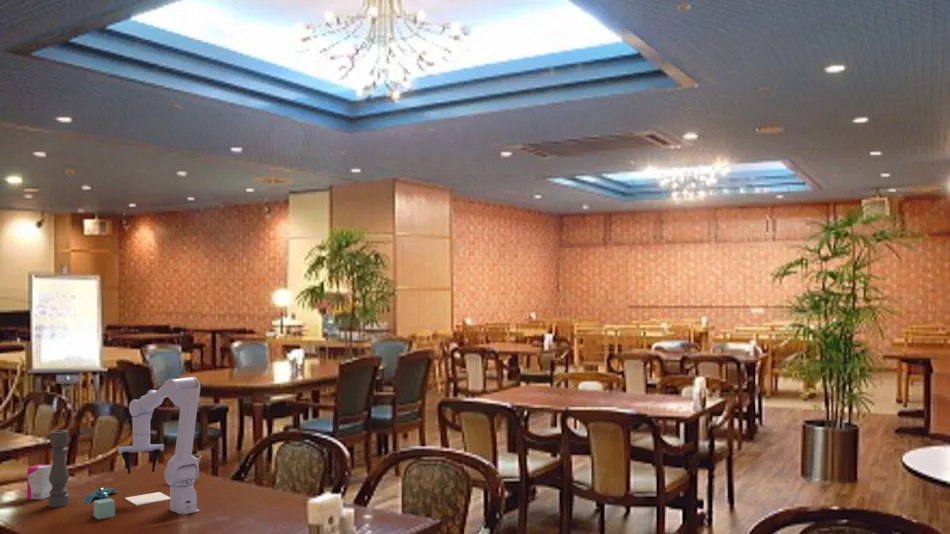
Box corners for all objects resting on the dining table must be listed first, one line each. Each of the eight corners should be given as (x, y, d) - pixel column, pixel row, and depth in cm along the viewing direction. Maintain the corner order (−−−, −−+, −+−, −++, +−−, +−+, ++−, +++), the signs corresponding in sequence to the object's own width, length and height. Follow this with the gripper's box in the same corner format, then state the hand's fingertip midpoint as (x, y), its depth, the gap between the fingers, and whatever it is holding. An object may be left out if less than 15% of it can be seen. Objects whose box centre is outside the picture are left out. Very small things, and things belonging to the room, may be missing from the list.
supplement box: (52, 496, 282) (53, 464, 282) (42, 501, 276) (42, 467, 276) (37, 496, 282) (37, 463, 283) (26, 500, 277) (26, 467, 277)
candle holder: (60, 508, 266) (60, 433, 267) (44, 507, 268) (44, 432, 268) (73, 503, 272) (73, 430, 273) (57, 502, 274) (57, 429, 274)
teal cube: (114, 516, 256) (114, 501, 256) (98, 519, 253) (98, 503, 253) (109, 513, 260) (110, 498, 260) (93, 516, 257) (93, 500, 257)
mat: (171, 499, 277) (171, 498, 277) (136, 505, 269) (136, 504, 269) (159, 493, 286) (159, 491, 286) (124, 498, 278) (124, 497, 278)
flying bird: (105, 493, 288) (105, 482, 288) (121, 494, 286) (121, 483, 286) (74, 503, 274) (74, 492, 274) (91, 505, 272) (91, 493, 272)
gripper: (163, 430, 286) (163, 468, 285) (119, 433, 281) (119, 472, 280) (163, 433, 279) (163, 472, 279) (118, 436, 274) (118, 476, 274)
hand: (141, 472), depth 279 cm, fingers open, 7 cm apart
